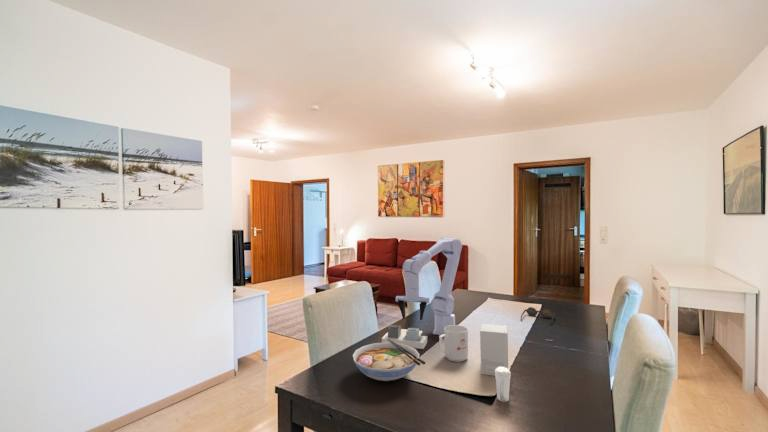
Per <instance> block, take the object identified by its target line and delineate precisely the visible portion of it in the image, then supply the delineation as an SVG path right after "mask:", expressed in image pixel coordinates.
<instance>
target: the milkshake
mask: <svg viewBox="0 0 768 432" xmlns="http://www.w3.org/2000/svg"><path fill="white" fill-rule="evenodd" d="M493 368H494V367H493ZM494 371H495V376H494V379H495V390H496V397H497V400H498V401H499V402H502V403H505V402H506V403H507V402H508V401H509V400H510V399H509V398H510V389H511V388H510V386H511V385H510V384H511V375H512V372H511V371H510V369H509V368H508V369H507V368H505V367H501V366H499V367H497V368H496V369H495V370H494Z"/></svg>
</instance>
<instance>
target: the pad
mask: <svg viewBox="0 0 768 432" xmlns="http://www.w3.org/2000/svg"><path fill="white" fill-rule="evenodd" d="M407 329H408V328H407ZM407 329H406V328H401V334H406V331H407ZM422 334H423V330H419V335H420V336H422Z"/></svg>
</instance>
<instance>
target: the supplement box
mask: <svg viewBox="0 0 768 432" xmlns="http://www.w3.org/2000/svg"><path fill="white" fill-rule="evenodd" d="M508 335H509V334H508V326H507V325H504V324H503V325H501V324H493V323H492V324H489V323H481V326H480V330H479V337H480V342H479V344H480V374H481V375H485V376H494V377H495V371H494V370H495V369H496V368H497V367H499V366H501V367H505V368H507V369H509V339H508V338H509V337H508ZM493 367H494V368H493Z"/></svg>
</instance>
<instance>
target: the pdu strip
mask: <svg viewBox="0 0 768 432" xmlns="http://www.w3.org/2000/svg"><path fill="white" fill-rule="evenodd" d="M401 329H402V327H401V325H399V324H398V325H397V324H390V325H389V326H388V327H387V332H386V333H385V334H384V335H383V336H382V337H381V343H384V342H387V343H391V342H392V341H393V342H394V343H399V344H404V345H408V346H410V347H412V348H414V349H421V350H425V347H426V345H427V343H428V335H419V342H417V341H408V340H406V334H401ZM387 339H388V340H389V339H390V340H391V342H390V340H389V341H388V340H387ZM393 342H392V343H393Z"/></svg>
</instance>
